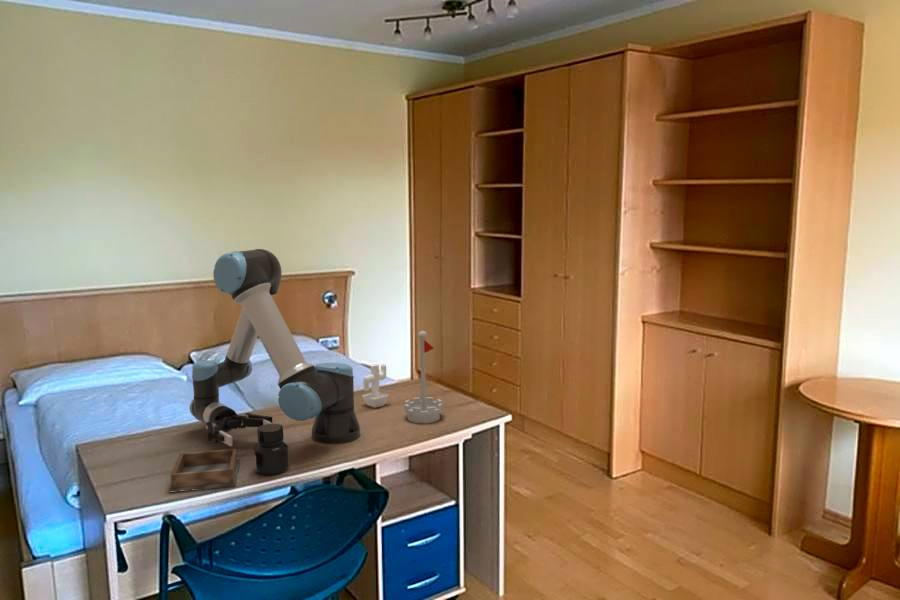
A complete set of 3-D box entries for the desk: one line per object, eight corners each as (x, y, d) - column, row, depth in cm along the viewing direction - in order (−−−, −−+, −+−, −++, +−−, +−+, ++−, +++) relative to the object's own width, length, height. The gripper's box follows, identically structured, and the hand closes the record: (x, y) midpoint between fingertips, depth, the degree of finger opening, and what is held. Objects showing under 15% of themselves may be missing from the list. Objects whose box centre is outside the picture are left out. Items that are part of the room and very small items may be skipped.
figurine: (359, 405, 239) (357, 365, 237) (379, 400, 246) (378, 360, 243) (371, 410, 234) (370, 368, 232) (392, 404, 240) (391, 364, 238)
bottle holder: (239, 462, 188) (238, 447, 188) (235, 486, 173) (234, 469, 172) (179, 468, 185) (178, 453, 184) (169, 493, 169) (168, 476, 169)
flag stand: (396, 418, 225) (394, 331, 221) (423, 409, 235) (422, 325, 230) (424, 427, 217) (422, 336, 212) (450, 417, 226) (450, 330, 222)
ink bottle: (272, 460, 190) (270, 420, 188) (296, 466, 186) (294, 424, 184) (247, 472, 181) (244, 430, 180) (271, 479, 177) (269, 435, 176)
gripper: (258, 420, 214) (292, 437, 199) (180, 439, 197) (211, 459, 182) (257, 397, 213) (292, 413, 198) (179, 415, 196) (210, 433, 181)
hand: (253, 435), depth 190 cm, fingers open, 13 cm apart
